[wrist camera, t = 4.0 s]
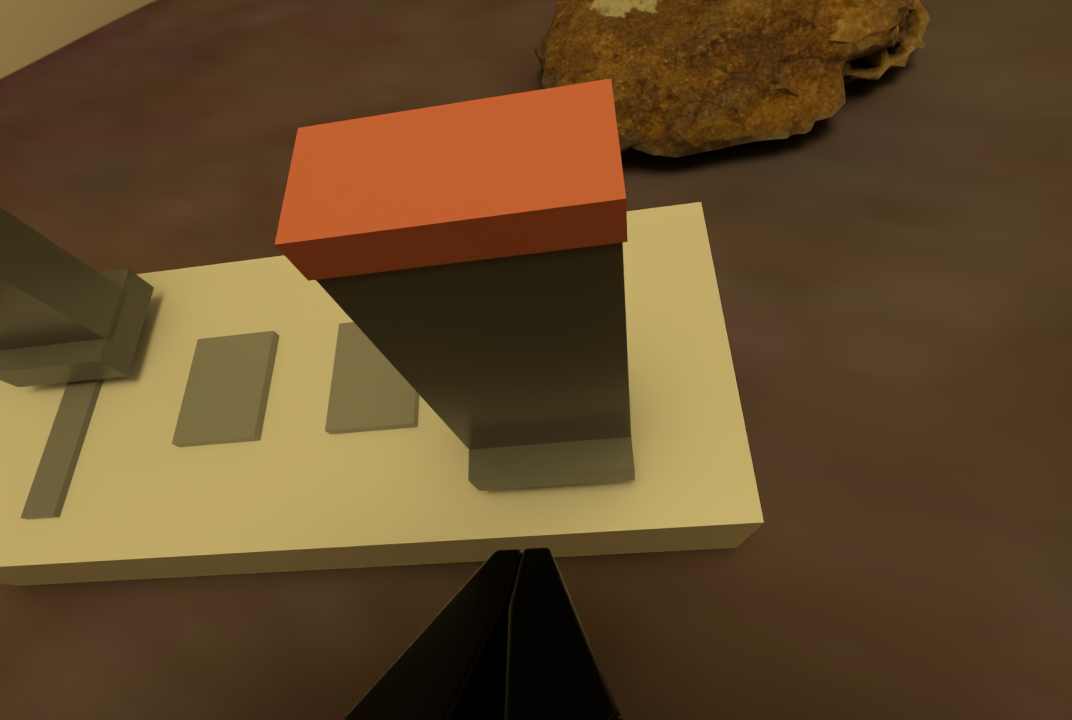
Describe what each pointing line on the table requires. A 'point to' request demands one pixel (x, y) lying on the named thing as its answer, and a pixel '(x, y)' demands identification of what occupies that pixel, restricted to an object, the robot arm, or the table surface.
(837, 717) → the table surface
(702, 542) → the cream lever base
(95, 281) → the switch
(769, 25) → the decorative rock
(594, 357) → the switch
